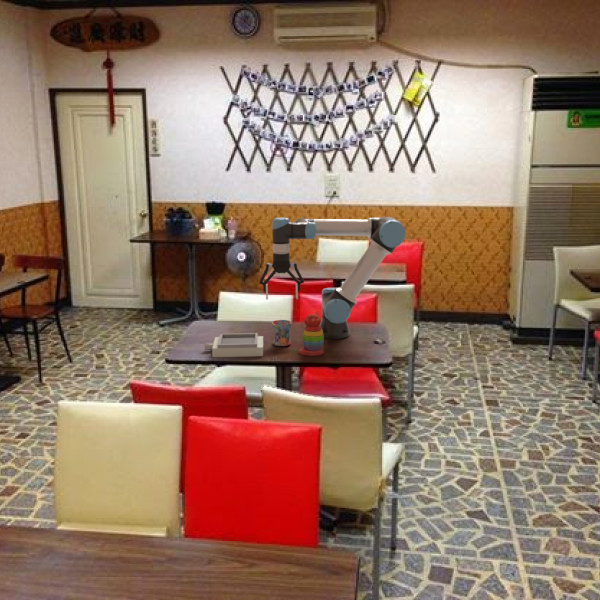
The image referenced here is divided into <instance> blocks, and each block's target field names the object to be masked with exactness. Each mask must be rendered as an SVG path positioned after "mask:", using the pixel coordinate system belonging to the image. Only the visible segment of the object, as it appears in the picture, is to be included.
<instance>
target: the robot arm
mask: <svg viewBox="0 0 600 600" xmlns="http://www.w3.org/2000/svg"><path fill="white" fill-rule="evenodd" d="M271 224H272V227H271V230H272V233H271V234H272V252H273V253H272V263H269V262H267V263H265V269H264V270H263V273H262V275H261V277H260V280H259V283H258V284H259V285H262V286H263V293H265V299H266V301H267V300H268V301H269V292H268V291H269V290H268V283H269V281H271V279H272V278H273V277H274V275H276V274H286V273H287V274H288V275H289V276H290V277H291V278H292V279H293V281H294V282H295V299H296V300H298V299H299V293H298V292H301V285H302V284H304V283H305V280H304V278H303V276H302V274H301V273H300V270H299V269H298V264H297V262H296V261H295V262H292V263H291V261H290V259H291V258H290V254H291V253H290V240H314V239H316V237H317V236H340V237H341V236H342V237H343V236H344V237H346V236H347V237H348V236H349V237H367V238H368V239H370V244H369V246H368V248H367V249H366V250H365V251H364V253H363V254H362V256H361V257H360V259H359V260H358V261H357V263H356V265H354V267H353V269H352V270H351V272H350V273H349V274H348V276H347V277H346V279H345V280H344V281H343V283H342V285H341V286H339V287H326V288H323V289H322V290H321V322H320V325H319V326H320V327H321V329H322V330H323V335H324V339H329V340H330V339H332V340H337V339H338V340H339V339H345V338H347V337H348V338H349V337H350V333H351V331H350V328H349V327H350V326H349V324H348V319H349V318H350V316H351V313H352V310H353V308H354V307H355V306H356V304H357V297H358V296H359V295H360V293H361V291H362V290H363V288H364V287H365V286H366V285H367V283H368V281H369V280H370V278H371V277H372V276H373V275H374V273H375V272H376V270H377V269H378V267H379V266H380V264H381V263H382V262H383V260H384V259H385V258H386V256H388V255H392V253H394V252H395V250H396V248H397V247H399V246H401V245H402V243H403V242H404V241H405V238H406V234H407V233H406V229H405V226H404V225H403V223H402V222H401V221H399V220H397V219H396V218H394V217H391V216H381V217H369V218H367V219H342V218H341V219H338V218H337V219H330V218H329V219H327V218H319V219H318V218H305V217H301V218H297V220H295V221H294V222H291V221H290V219H289V217H275V218H273V219H272V223H271ZM291 267H292V268H293V269H294V271H295V273H296V275H297V277H298V278H299V279H298V278H297V277H296V276H295V274H294V273H293V272H292V271H291ZM271 268H273V270H272V271H271V273H270V274H268V271H269V269H271ZM267 274H268V276H267ZM266 276H267V278H266V279H265V277H266Z"/></svg>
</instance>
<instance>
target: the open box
mask: <svg viewBox="0 0 600 600" xmlns="http://www.w3.org/2000/svg"><path fill="white" fill-rule="evenodd" d="M258 334H259V333H258V332H255V333H254V332H248V333H246V332H245V333H220V334H219V336H215V337H214V341H213V343H204V351H212V352H211V353H212V358H233V357H235V358H237V357H263V356H264V336H263V335H258Z"/></svg>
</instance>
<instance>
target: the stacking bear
mask: <svg viewBox="0 0 600 600" xmlns="http://www.w3.org/2000/svg"><path fill="white" fill-rule="evenodd" d="M321 320H322V318H321V317H320V316H319V313H318V312H316V313H310V314H308V315H306V317H305V319H304V321H303V322H304V324H305V326H304V330H303V334H302V343H303V347H302V348H299V349H298V351H297V353H298V354H299V355H303V356H321V355H323V354H324V348H323V347H324V342H325V338H324V335H323V330H322V329H321V327H320V324H321Z"/></svg>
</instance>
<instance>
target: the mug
mask: <svg viewBox="0 0 600 600" xmlns="http://www.w3.org/2000/svg"><path fill="white" fill-rule="evenodd" d="M292 325H293V323H292V321H291V320H288V319H287V320H286V319H276V320H272V321H271V326H272V329H273V332H274V334H273V335H274V337H273V341H272V344H273V346H277V347H287V346H290V345H291V344H292V341H291V338H290V330H291V326H292Z"/></svg>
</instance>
